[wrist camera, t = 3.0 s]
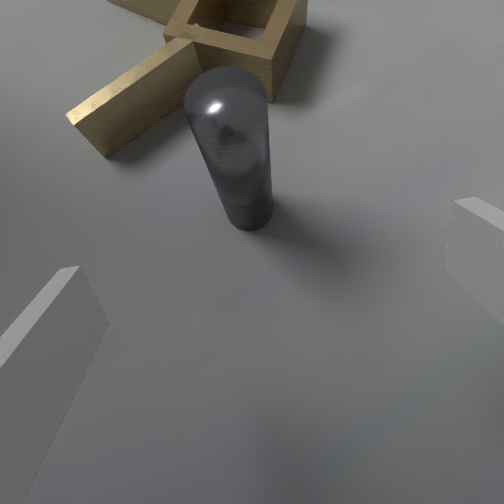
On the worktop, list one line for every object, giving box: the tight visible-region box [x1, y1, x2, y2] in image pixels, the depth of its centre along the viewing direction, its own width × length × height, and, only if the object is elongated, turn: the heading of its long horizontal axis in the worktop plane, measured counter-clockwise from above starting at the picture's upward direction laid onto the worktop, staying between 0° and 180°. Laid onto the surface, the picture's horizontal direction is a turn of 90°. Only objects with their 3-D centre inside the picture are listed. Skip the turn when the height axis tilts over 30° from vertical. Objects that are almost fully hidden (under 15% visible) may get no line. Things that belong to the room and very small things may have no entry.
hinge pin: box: [184, 66, 273, 231], centre depth 20 cm, size 4×4×12 cm
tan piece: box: [65, 0, 308, 159], centre depth 28 cm, size 20×18×4 cm
